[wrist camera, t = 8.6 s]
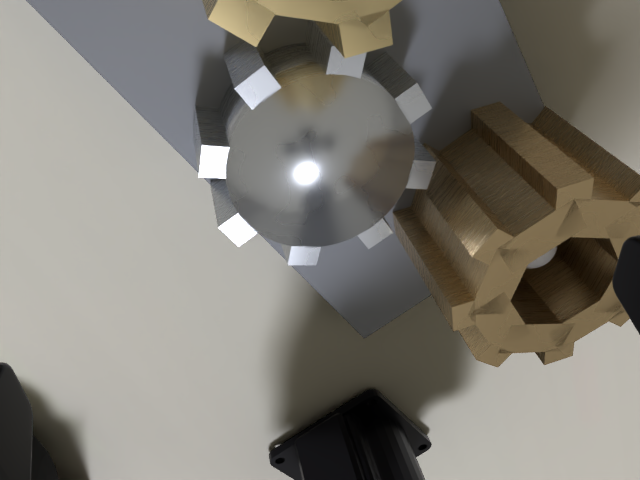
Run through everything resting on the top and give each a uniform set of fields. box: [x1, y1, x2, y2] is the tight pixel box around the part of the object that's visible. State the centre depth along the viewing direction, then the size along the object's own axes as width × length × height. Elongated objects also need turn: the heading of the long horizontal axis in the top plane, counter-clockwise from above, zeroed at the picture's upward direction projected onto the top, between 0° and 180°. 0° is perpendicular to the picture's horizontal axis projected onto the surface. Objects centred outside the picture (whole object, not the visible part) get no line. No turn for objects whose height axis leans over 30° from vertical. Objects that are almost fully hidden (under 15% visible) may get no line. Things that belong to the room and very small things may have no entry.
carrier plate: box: [26, 0, 557, 338], centre depth 16 cm, size 18×10×5 cm, turn 34°
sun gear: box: [193, 20, 436, 266], centre depth 17 cm, size 6×6×2 cm
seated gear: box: [392, 101, 640, 367], centre depth 19 cm, size 7×7×5 cm
